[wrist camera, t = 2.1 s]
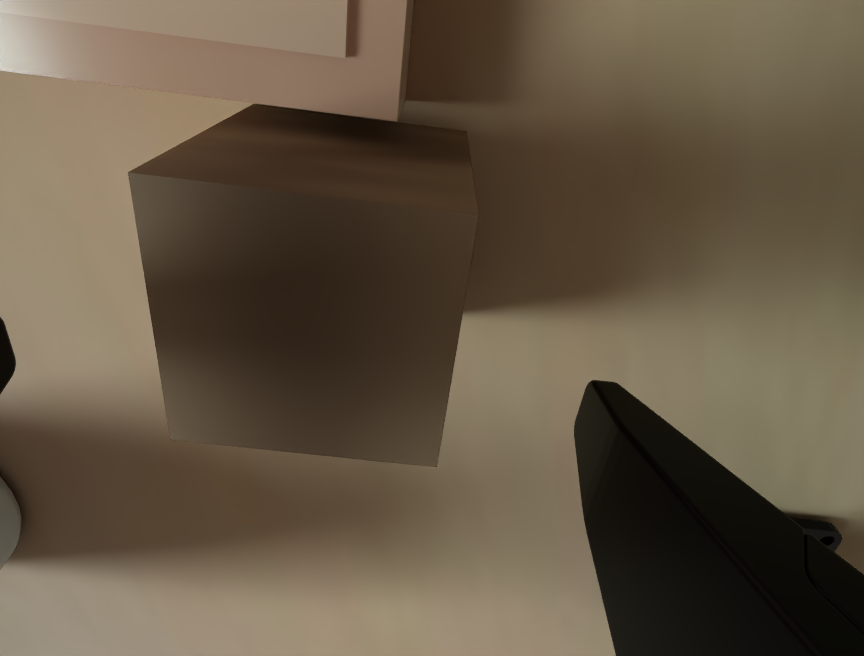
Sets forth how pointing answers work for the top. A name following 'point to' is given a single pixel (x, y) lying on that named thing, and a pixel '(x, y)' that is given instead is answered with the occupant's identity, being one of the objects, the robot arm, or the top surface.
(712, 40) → the top surface
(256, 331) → the walnut block
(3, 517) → the milk bottle
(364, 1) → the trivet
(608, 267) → the top surface
